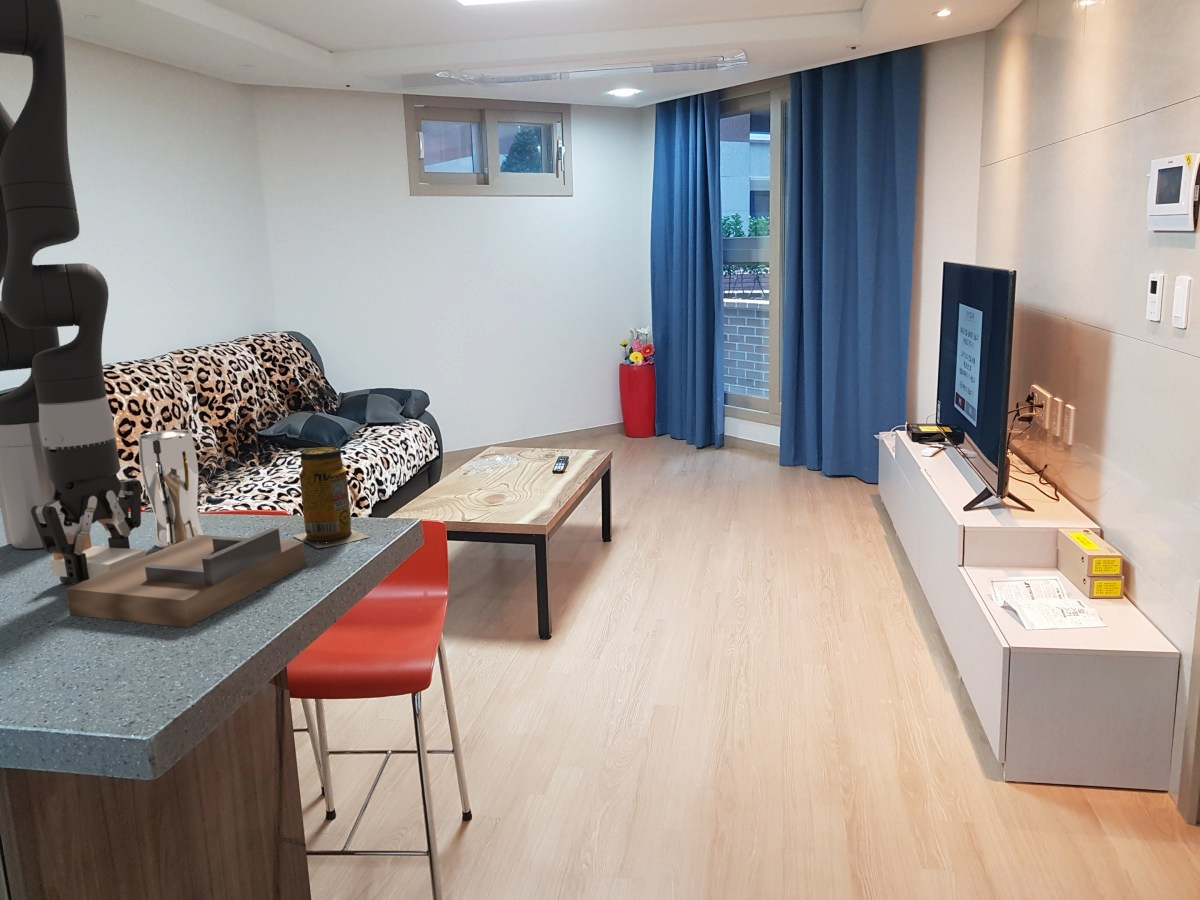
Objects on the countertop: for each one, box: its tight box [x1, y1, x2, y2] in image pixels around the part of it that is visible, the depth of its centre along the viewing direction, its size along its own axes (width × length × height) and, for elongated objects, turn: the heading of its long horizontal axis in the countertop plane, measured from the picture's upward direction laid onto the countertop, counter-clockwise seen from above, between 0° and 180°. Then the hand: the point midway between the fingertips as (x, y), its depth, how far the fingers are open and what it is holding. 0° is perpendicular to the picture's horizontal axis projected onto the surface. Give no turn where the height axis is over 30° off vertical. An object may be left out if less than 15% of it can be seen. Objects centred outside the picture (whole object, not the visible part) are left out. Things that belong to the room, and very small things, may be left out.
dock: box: [65, 527, 307, 629], centre depth 108 cm, size 16×20×6 cm
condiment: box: [292, 446, 370, 549], centre depth 126 cm, size 7×8×12 cm
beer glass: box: [137, 429, 204, 549], centre depth 126 cm, size 7×7×15 cm
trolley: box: [49, 533, 147, 584], centre depth 113 cm, size 9×6×6 cm, turn 71°
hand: (101, 574), depth 113 cm, fingers closed on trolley, 5 cm apart
